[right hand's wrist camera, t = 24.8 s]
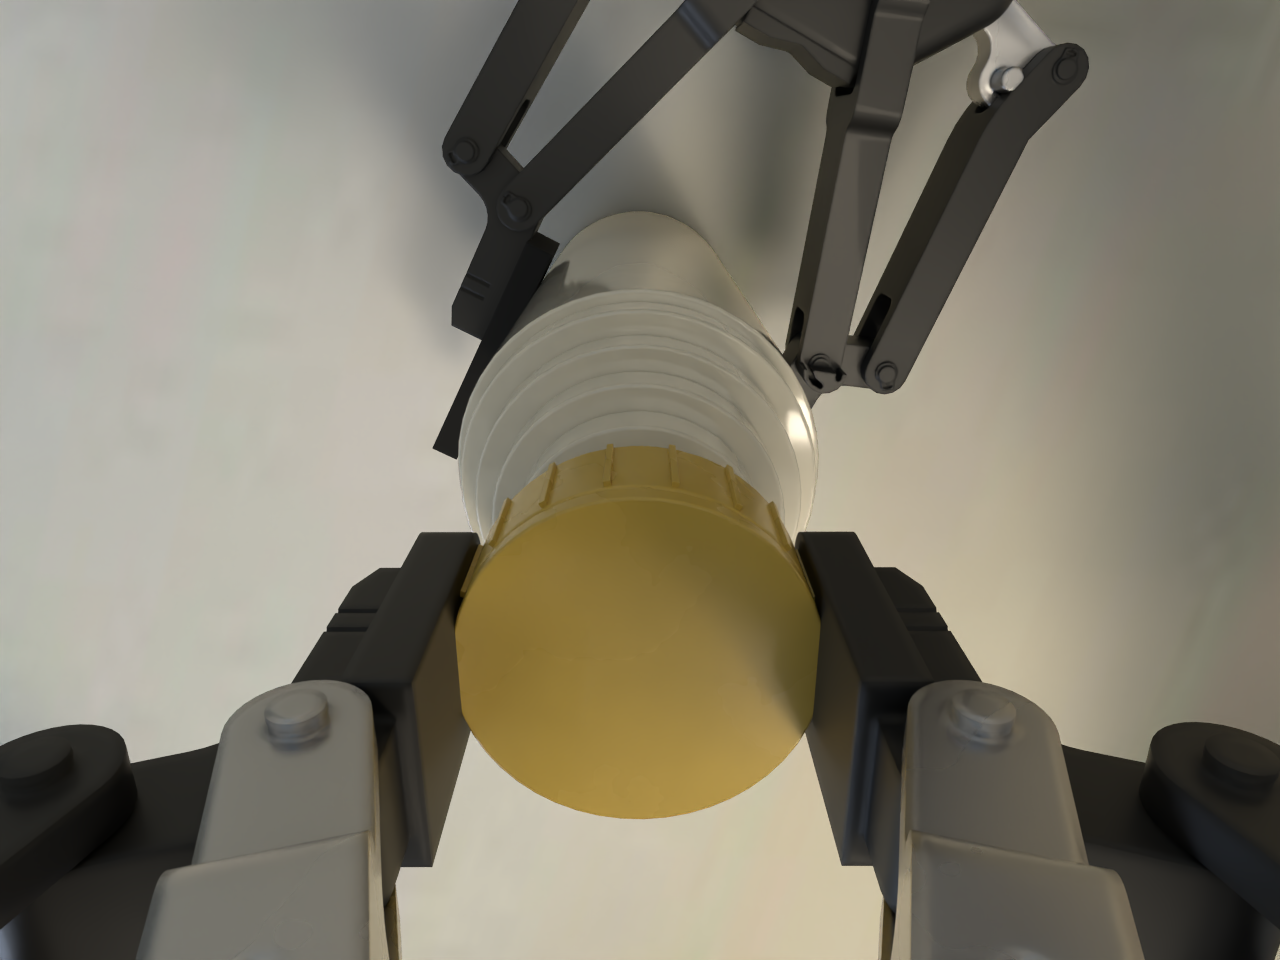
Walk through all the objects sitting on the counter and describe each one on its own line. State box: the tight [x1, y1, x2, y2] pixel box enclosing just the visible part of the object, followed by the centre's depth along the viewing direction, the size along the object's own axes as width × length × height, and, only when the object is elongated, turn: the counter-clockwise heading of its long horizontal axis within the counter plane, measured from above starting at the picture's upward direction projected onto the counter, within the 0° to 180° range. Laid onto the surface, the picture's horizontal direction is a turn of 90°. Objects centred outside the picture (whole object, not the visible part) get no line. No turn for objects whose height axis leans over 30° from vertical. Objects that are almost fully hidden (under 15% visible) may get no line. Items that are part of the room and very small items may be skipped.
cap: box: [455, 444, 821, 819], centre depth 11 cm, size 4×4×2 cm
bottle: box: [458, 211, 819, 547], centre depth 21 cm, size 7×7×23 cm
